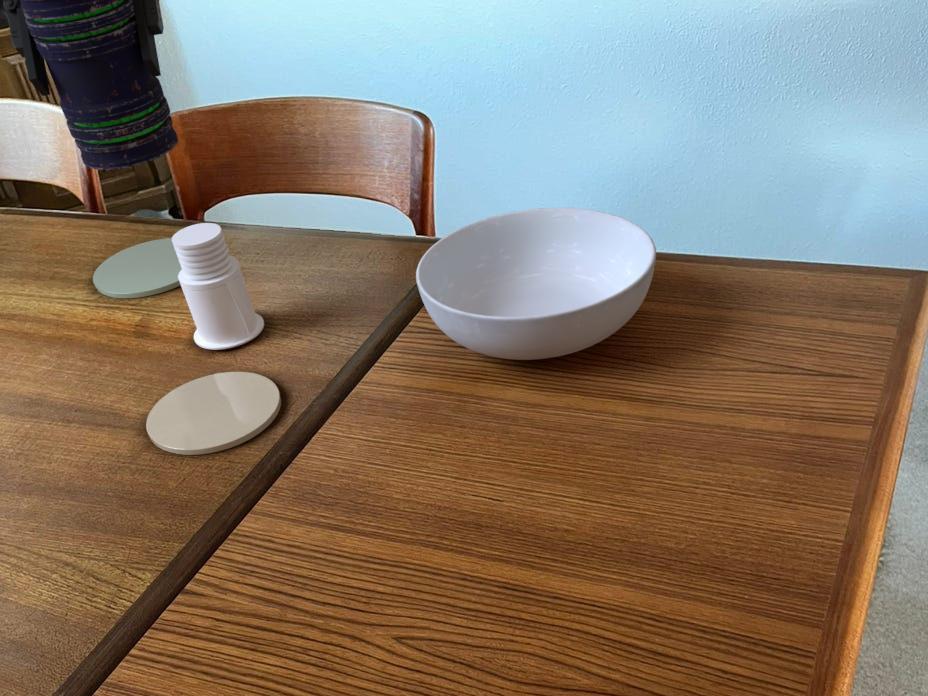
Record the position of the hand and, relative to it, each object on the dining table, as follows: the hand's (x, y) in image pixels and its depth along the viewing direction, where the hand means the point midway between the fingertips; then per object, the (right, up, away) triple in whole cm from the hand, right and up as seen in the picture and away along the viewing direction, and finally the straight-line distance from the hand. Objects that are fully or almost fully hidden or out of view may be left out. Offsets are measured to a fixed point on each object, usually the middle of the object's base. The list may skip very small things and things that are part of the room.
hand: (95, 77), depth 89 cm
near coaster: (+12, -32, -4) cm, 34 cm away
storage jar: (+1, -3, +8) cm, 8 cm away
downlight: (+11, -22, +6) cm, 25 cm away
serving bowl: (+41, -23, 0) cm, 47 cm away
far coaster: (-1, -11, +19) cm, 22 cm away
